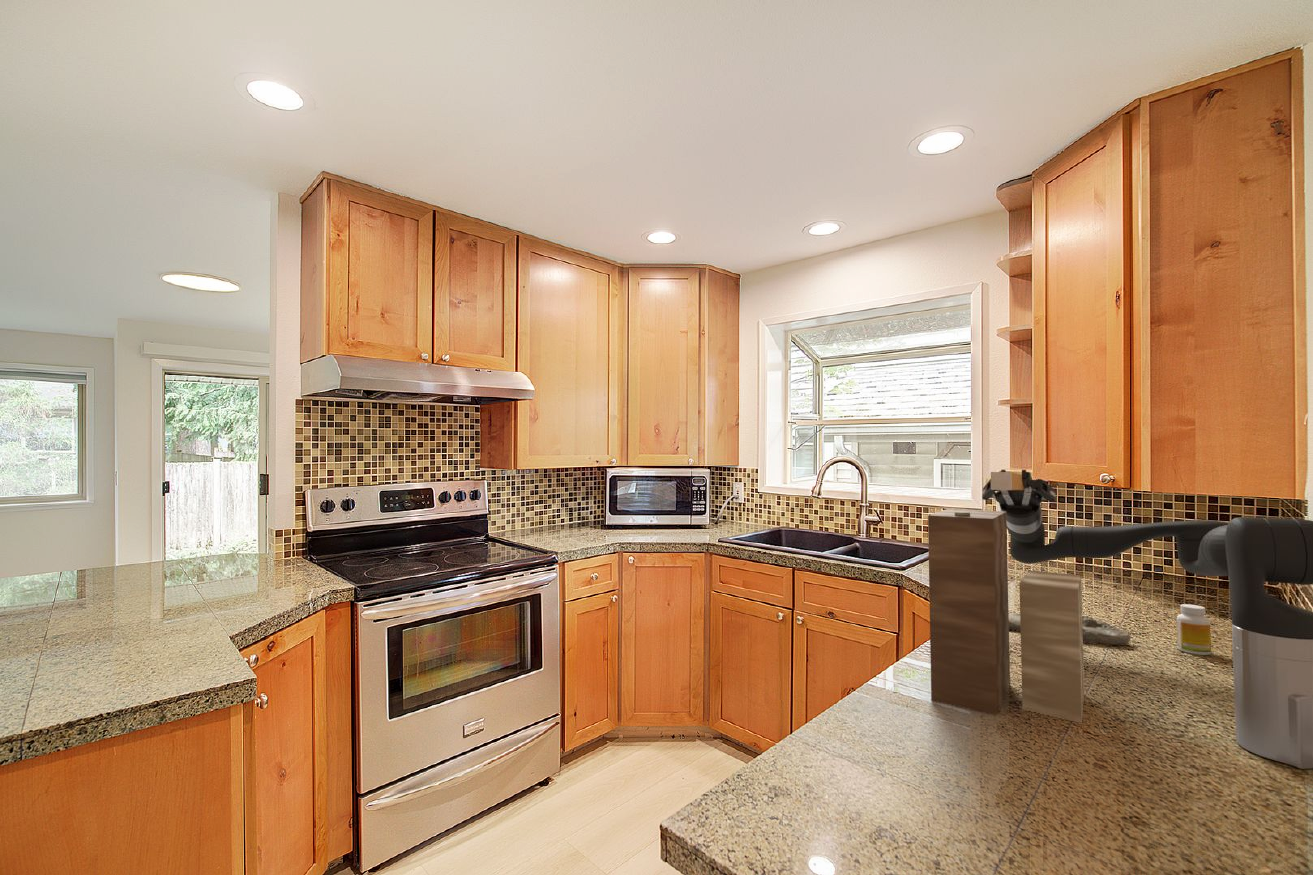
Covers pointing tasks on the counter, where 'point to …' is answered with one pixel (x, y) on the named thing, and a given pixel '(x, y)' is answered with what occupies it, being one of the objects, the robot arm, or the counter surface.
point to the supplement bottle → (1193, 630)
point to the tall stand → (969, 609)
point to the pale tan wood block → (1006, 481)
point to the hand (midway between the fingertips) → (1013, 473)
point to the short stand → (1052, 644)
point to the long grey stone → (1088, 631)
